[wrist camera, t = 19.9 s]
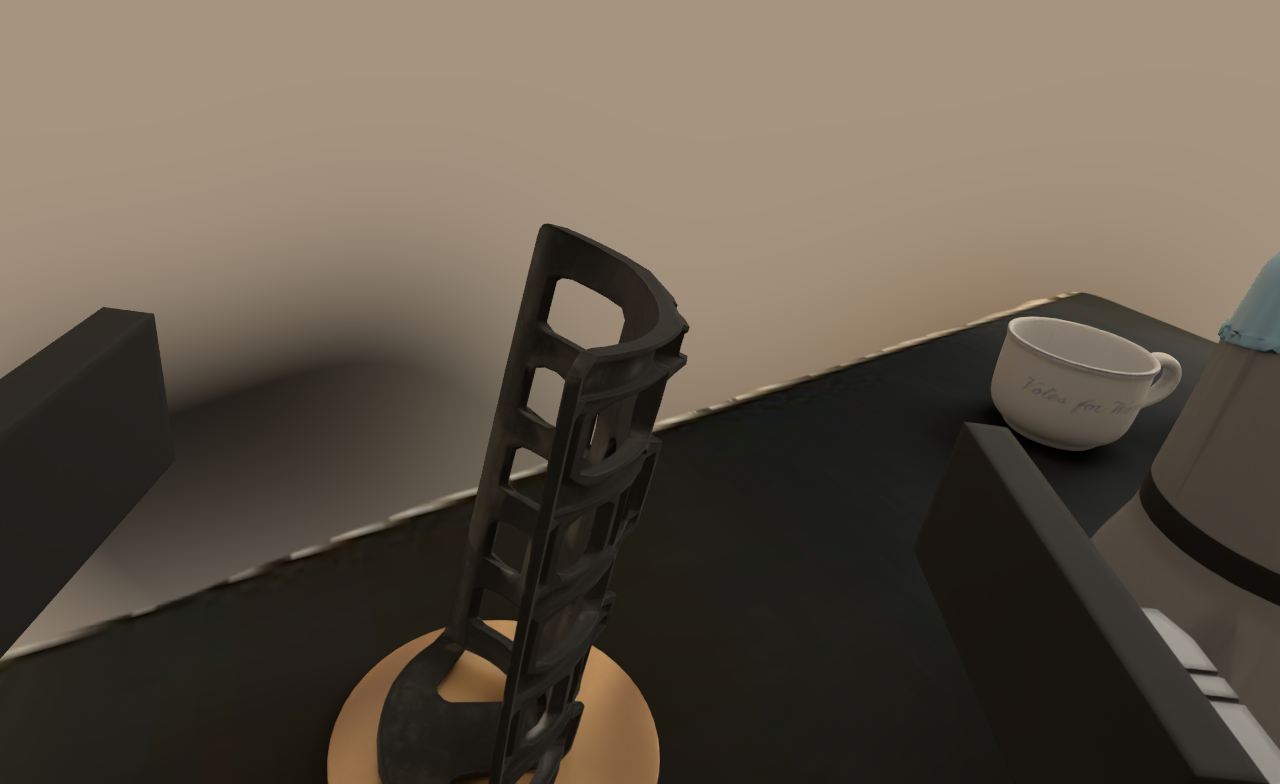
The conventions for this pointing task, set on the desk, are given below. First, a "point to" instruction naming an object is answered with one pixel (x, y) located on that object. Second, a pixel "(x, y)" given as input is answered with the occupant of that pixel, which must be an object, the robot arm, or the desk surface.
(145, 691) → the desk surface
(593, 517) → the holder
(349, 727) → the cork mat
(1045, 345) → the teacup
